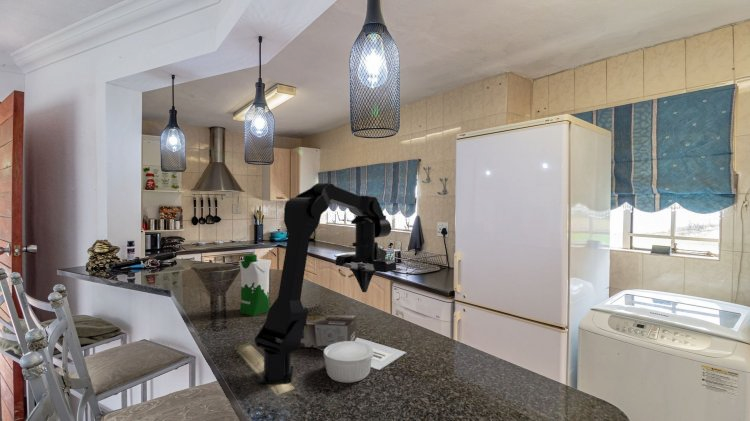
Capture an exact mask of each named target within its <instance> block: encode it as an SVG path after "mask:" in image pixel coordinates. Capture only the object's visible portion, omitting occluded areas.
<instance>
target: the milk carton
mask: <svg viewBox="0 0 750 421" xmlns="http://www.w3.org/2000/svg"><path fill="white" fill-rule="evenodd" d="M243 258H244V259H242V260H239V261H238V264H239V269H240V274H241V275H240V283H241V284H240V307H239V309H240V310H239V313H241V314H244V315H247V316H252V317H255V316H258V315H263V314H265V313H268V312H269V309H270V307H271V306H270V269H271V266H272V264H271V263H272V260H271V259H264V258H258V255H257V254H253V253H252V254H245V255H243Z"/></svg>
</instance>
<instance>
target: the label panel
mask: <svg viewBox="0 0 750 421" xmlns="http://www.w3.org/2000/svg"><path fill="white" fill-rule="evenodd" d="M355 341H356V342H362V343H365V344H367V345H369V346H371V347H372V349H373V357H372V361H371V367H370V369H371V368H372V369H375V370H378V371H380V370H382V369H384V368H385V367H386V366H388V365H390V364H391V363H393V362H394V361H396V360H398V359H400V358H401V357H402V356H403V355H405V354H407V351H403V350H400V349H397V348H394V347H390V346H387V345H383V344H380V343H378V342H377V343H376V342H374V341H370V340H367V339H364V338H361V337H360V338H359V337H357V338H356V340H355ZM316 349H318V350H321V351H323V352H324V349H325V348H316Z"/></svg>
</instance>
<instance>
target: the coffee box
mask: <svg viewBox="0 0 750 421" xmlns="http://www.w3.org/2000/svg"><path fill="white" fill-rule="evenodd" d="M306 324H307V326H306V327H304V332H303V334H302V338H301V342H300V346H299V348H315V349H317V348H326V347H328V346H329V345H331V344H334V343H338V342H344V341H355V340H356V338H358V330H357V316H356V315H344V314H342V315H341V314H314V313H313V314H309V313H308V315H307V319H306Z"/></svg>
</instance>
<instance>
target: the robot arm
mask: <svg viewBox="0 0 750 421" xmlns="http://www.w3.org/2000/svg"><path fill="white" fill-rule="evenodd" d="M330 203H332V204H336V205H339V206H341V207H345V208H346V209H348V210H349V212H350V213H352V214H353V215H355V217H354V218H353V219H352V220H351V222H350V223H351V224H352V225H355V235H354V236H355V240H354V241H355V242H352V247H355V249H354V251H355V252H354V253H355V254H349V253H348V254H341V255H337V256H336V258H335V266H338V267H339V266H340V267H343V266H345V264H348V265H350V266H351V267H350V268H349V271H351V272H352V274H353V275H354V277H355V279H356V281H357V283H358V286H359V288H360V290H361V292H362V293H367V291H368V289H369V285H370V283H371V281H372V278H373V276H374V274H375V273H376V272H379V273H388V272H393V271H396V270H397V263H396V261H395V260H394V259H389V258H388V259H387V258H386V257H387V251H386V250H384V249H383V248H380V247H379V243H378V242H377V241H376V238H377V239H378V238H382V237H383V238H384V237H385V238H386V237H388V236H389V235H390V234H391V232H392V226H391V222H390V221H389V220H388V219H387V215H386V214H385V215H384V212H383V209H382V207H381V205H380V201H379V200H378V198H377V197H376V196H372V195H360V194H356V193H354V192H351V191H348V190H347V189H343V188H342V187H339V186H336V185H335V184H333V183H330V182H318V183H315V184H314V185H313V186H311V187H310V188H309V189H307V190H305V191H303V192H301V193H298V194H297V195H296V196H294V197H291V198H289V199H288V200H286V202H285V205H284V208H283V209H284V210H283V212H284V213H283V214H284V215H283V223H284V225H285V228H286V231H287V239H286V240H287V241H286V247H285V253H284V258H283V265H282V270H281V277H280V283H279V290H278V295H277V298H276V299H275V300H274V302H273V303H272V304H271V306H270V309H269V311H268V312H267V316H266V320H265V322H264V324H263V325H262V327H261V329H260V330H259V331H258V333H257V334H256V336H255V337H254V344H255V346H256V347H257V348H261V349H263V371H262V374H261V376H260V380H259V384H260V385H262V384H263V385H264V384H280V383H282V384H283V383H290V382H293V381H292V380H293V375H294V368H295V367H294V366H293V365H292V353H294V352H295V351H297V350H300V347H299V346H300V342H301V338H302V334H303V332H304V327H306V326H307V324H306V319H307V315H308V314H309V308H308V307H306V306H303V304H302V301H301V298H302V297H301V296H302V292H303V284H304V277H305V271H306V265H307V257H308V252H309V246H310V239H311V236H312V234H313V233H314V232H315V230H316V229H317V228H318V227H319V224H320V220H321V217H322V214H323V213H324V212H325V211H327V209H329V206H330Z"/></svg>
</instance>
